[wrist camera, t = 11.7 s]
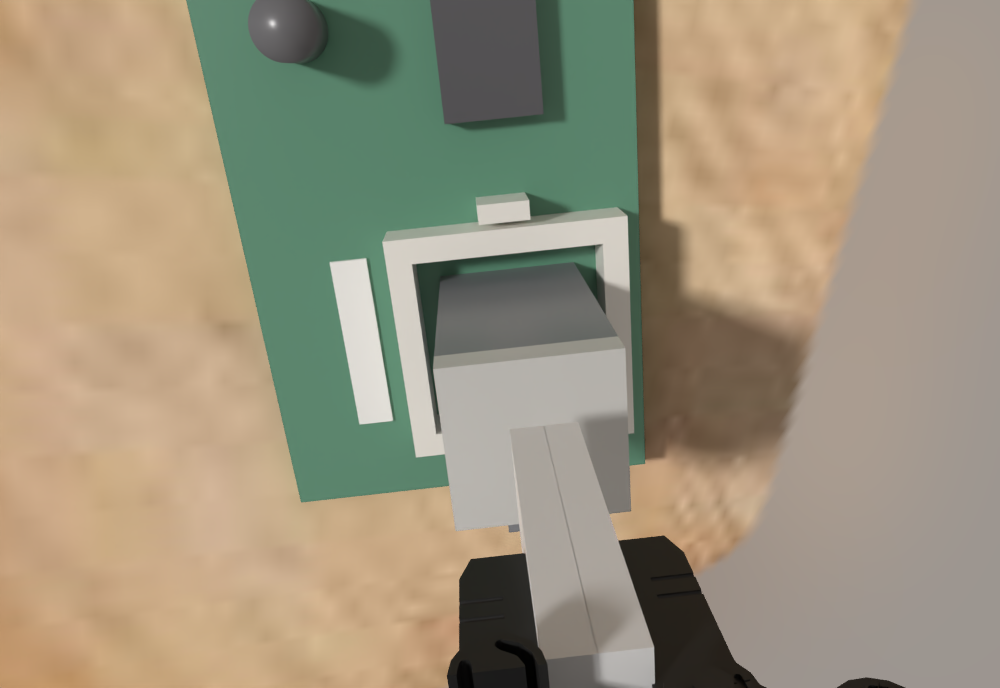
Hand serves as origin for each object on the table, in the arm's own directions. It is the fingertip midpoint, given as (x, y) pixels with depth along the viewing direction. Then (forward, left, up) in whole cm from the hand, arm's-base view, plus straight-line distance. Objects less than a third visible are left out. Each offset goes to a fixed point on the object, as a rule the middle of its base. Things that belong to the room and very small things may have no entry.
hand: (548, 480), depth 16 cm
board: (-4, -2, -11) cm, 12 cm away
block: (0, 0, -10) cm, 10 cm away
